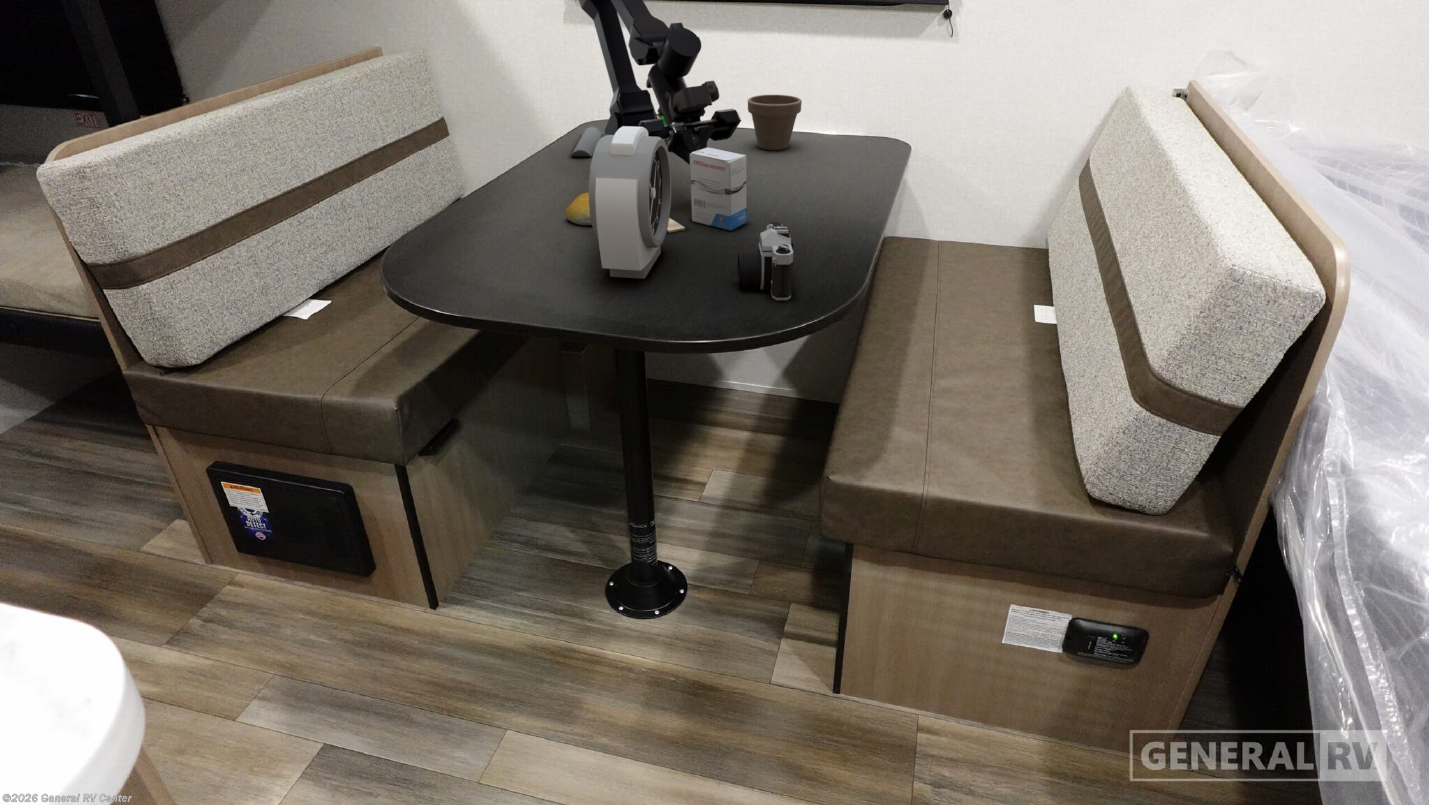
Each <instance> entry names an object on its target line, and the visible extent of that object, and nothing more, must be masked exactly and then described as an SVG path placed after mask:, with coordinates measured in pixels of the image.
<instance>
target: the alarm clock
mask: <svg viewBox="0 0 1429 805" xmlns="http://www.w3.org/2000/svg"><path fill="white" fill-rule="evenodd" d="M667 147H668V145H667V143H666V140H665V141H664V140H663V139H661V138H660V137H650V136H648V131H647V129H645V128H644V127H632V126H622V127H621V128H619V129H618V131H617V132H616V133H615V135H606V136H605V135H604V136H601V137H600V140H599V141H598V143H597V145H596V147H595V150H594V152H593V154H592V156H591V162H590V168H589V176H588V192H589V209H590V217H591V222H592V225H591V226H592V230H593V233H594V236H595V238H596V240H597V241H598V247H599V248H598V249H599V256H600V262H601V268H602V269H607V270H608V269H609V277H611V278H612V277H613V278H628V279H643V280H645V279H646V277H647V276H648V274H649V272H650V271H651V269H652V268H653V266H654V264H655V263H656V261H657V260H658V258H659V256H660V255H661V253H662V248H661V245H662V244H663V242H664V240H665V238H666V235H667V228H668V222H669V218H670V216H671V215H670V214H671V206H672V164H671V157H670V152H668V148H667Z"/></svg>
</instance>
